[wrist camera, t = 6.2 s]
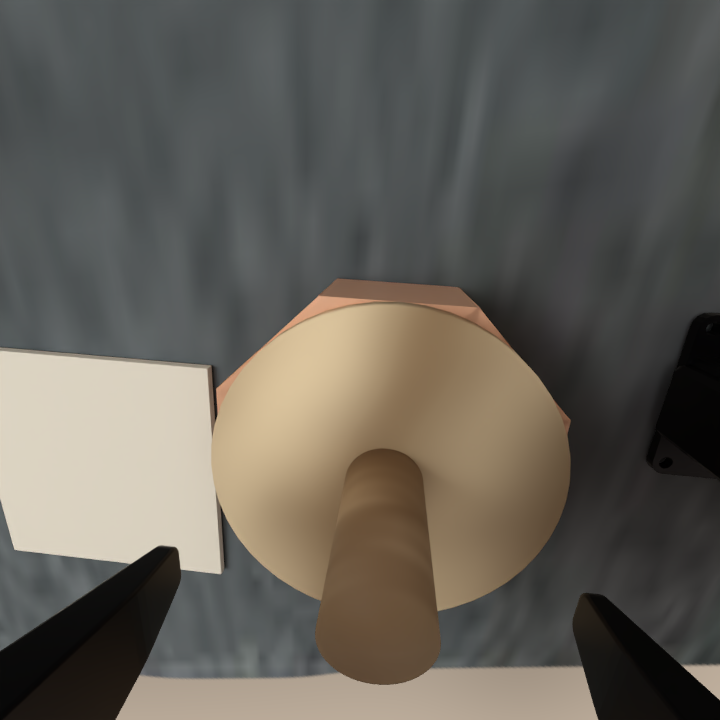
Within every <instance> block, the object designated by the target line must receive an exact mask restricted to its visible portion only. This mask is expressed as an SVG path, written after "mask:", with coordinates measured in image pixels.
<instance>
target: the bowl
mask: <svg viewBox="0 0 720 720" xmlns="http://www.w3.org/2000/svg"><path fill="white" fill-rule="evenodd" d="M374 301H389V302H407V303H414V304H421V305H427V306H430V307H434V308H437V309H441V310H445V311H448V312H451V313H453V314H456V315H458V316H461V317H463V318H465V319H468V320H470V321H472V322H474V323H476V324H477V325H479V326H481V327H482V328H484V329H486V330H487V331H489V332H491V333H493V334H494V335H495V336H497V337H498V338H499V339H500V340H502V341H503V342H504V343H505V344H507V345H508V346H509V347H510V348H511V346H510V345H509V344H508V343H507V341H506V340H505V339H504V338H503V336H502V335H501V334H500V333H499V331H498V330H497V329H496V328H495V326H494V325H493V324H492V323H491V321H490V320H489V319H488V318H487V317H486V315H485V314H484V313H483V312H482V310H481V309H480V307H479V306H478V305H477V304H476V303H475V302H474V301H473V300H472V299H470V298H469V297H468V296H467V295H466V294H465V293H464V292H463V291H462V290H461V289H460V288H459V287H450V286H436V285H422V284H408V283H393V282H379V281H365V280H351V279H339V278H338V279H336V280H335V281H334V282H333V283H332V284H331V285H330V286H328V287H327V288H326V289H325V290H324V291H323V292H322V293H321V294H320V295H319V296H318V297H317V298H316V299H315V300H314V301H313V302H311V303H310V304H309V305H308V306H307V307H306V308H305V309H304V310H303V311H302V312H300V313H299V314H298V315H297V316H296V317H295V318H294V319H293V320H292V321H291V322H289V323H288V324H287V325H286V326H285V327H284V328H283V329H282V330H281V331H280V332H279V333H277V334H276V335H275V336H274V337H273V338H272V339H271V340H270V341H269V342H268V343H270V342H271V341H272V340H273V339H275V338H276V337H277V336H279V335H280V334H281V333H282V332H284V331H285V330H287V329H289V328H290V327H292V326H294V325H296V324H297V323H299V322H301V321H302V320H304V319H307V318H309V317H312V316H314V315H316V314H319V313H321V312H324V311H326V310H330V309H334V308H338V307H342V306H346V305H350V304H357V303H365V302H374ZM268 343H266V344H265V345H264V346H263V347H262V348H261V349H260V350H259V351H261V350H262V349H263V348H264V347H265V346H266V345H267V344H268ZM259 351H257V352H256V353H255V354H254V355H253V356H252V357H250V358H249V359H248V360H247V361H246V362H245V363H244V364H243V365H242V366H241V367H239V368H238V369H237V370H236V371H235V372H234V373H233V374H232V375H231V376H230V377H228V378H227V379H226V380H225V381H224V382H223V383H222V384H221V385H220V386H219V387H217V388H216V392H217V408H218V413H219V409H220V406H221V404H222V402H223V400H224V398H225V396H226V394H227V392H228V390H229V388H230V386H231V385H232V383H233V382H234V381H235V379H236V378H237V376H238V375H239V373H240V372H241V371H242V369H243V368H244V367H245V366H246V365H247V364H248V363H249V362H250V361H251V360H252V359H253V358H254V357H255V355H256V354H257V353H258V352H259ZM554 402H555V401H554ZM555 404H556V406H557V409H558V411H559V413H560V415H561V417H562V420H563V424H564V427H565V430H566V434H568V430H569V426H570V422H571V420H570V419H569V418H568V417H567V415H566V414H565V413H564V412H563V411H562V409H561V408H560V407H559V406H558V405H557V403H556V402H555Z"/></svg>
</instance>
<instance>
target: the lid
mask: <svg viewBox="0 0 720 720" xmlns="http://www.w3.org/2000/svg"><path fill="white" fill-rule="evenodd" d="M570 465H571V458H570V451H569V443H568V437H567V434H566V430H565V427H564V424H563V420H562V417H561V415H560V413H559V411H558V409H557V406H556V404H555V402H554V400H553V398H552V396H551V395H550V393H549V392H548V390H547V389H546V387H545V386H544V384H543V383H542V381H541V380H540V379H539V377H538V376H537V375H536V374H535V373H534V372H533V370H532V369H531V368H530V367H529V366H528V365H527V364H526V363H525V362H524V361H523V360H522V359H521V358H520V357H519V355H518V354H517V353H516V352H515V351H514V350H513V349H512V348H510V347H509V346H508V345H507V344H505V343H504V342H503V341H502V340H500V339H499V338H498V337H497V336H495V335H494V334H493V333H491V332H489V331H487V330H486V329H484V328H482V327H481V326H479V325H477V324H476V323H474V322H472V321H470V320H468V319H465V318H463V317H461V316H458V315H456V314H453V313H451V312H448V311H445V310H441V309H437V308H434V307H430V306H427V305H421V304H414V303H407V302H389V301H374V302H365V303H357V304H350V305H346V306H342V307H338V308H334V309H330V310H326V311H324V312H321V313H319V314H316V315H314V316H312V317H309V318H307V319H304V320H302V321H301V322H299V323H297V324H296V325H294V326H292V327H290V328H289V329H287V330H285V331H284V332H282V333H281V334H280V335H279V336H277V337H276V338H275V339H273V340H272V341H271V342H270V343H268V344H267V345H266V346H265V347H264V348H263V349H262V350H261V351H259V352H258V353H257V354H256V355H255V357H254V358H253V359H252V360H251V361H250V362H249V363H248V364H247V365H246V366H245V367H244V368H243V369H242V371H241V372H240V373H239V375H238V376H237V378H236V379H235V381H234V382H233V383H232V385H231V386H230V388H229V390H228V392H227V394H226V396H225V398H224V400H223V402H222V404H221V406H220V409H219V413H218V416H217V419H216V422H215V425H214V431H213V438H212V444H211V466H212V473H213V480H214V486H215V489H216V493H217V496H218V499H219V503H220V505H221V507H222V510H223V512H224V514H225V516H226V519H227V521H228V522H229V524H230V526H231V527H232V529H233V530H234V532H235V534H236V535H237V537H238V538H239V539H240V541H241V542H242V543H243V545H244V546H245V547H246V548H247V550H248V551H249V552H250V553H251V554H252V555H253V556H254V557H255V558H256V559H257V560H258V561H259V562H260V563H261V564H262V565H263V566H264V567H265V568H267V569H268V570H269V571H270V572H272V573H273V574H274V575H275V576H277V577H278V578H279V579H281V580H282V581H284V582H285V583H287V584H289V585H290V586H292V587H293V588H295V589H297V590H299V591H301V592H303V593H305V594H307V595H309V596H311V597H313V598H315V599H318V600H320V601H321V604H320V609H319V614H318V619H317V624H316V631H315V639H316V644H317V647H318V649H319V651H320V653H321V655H322V656H323V658H324V659H325V660H326V661H327V662H328V663H329V664H330V665H331V666H332V667H333V668H334V669H336V670H337V671H339V672H340V673H342V674H343V675H346V676H348V677H350V678H352V679H355V680H357V681H361V682H365V683H370V684H379V685H390V684H398V683H403V682H406V681H409V680H412V679H414V678H417V677H419V676H420V675H422V674H424V673H425V672H426V671H427V670H429V669H430V668H431V667H432V665H433V664H434V663H435V661H436V660H437V658H438V655H439V652H440V647H441V640H440V631H439V621H438V612H437V611H440V610H445V609H449V608H453V607H456V606H459V605H462V604H465V603H468V602H471V601H473V600H475V599H477V598H480V597H482V596H484V595H486V594H488V593H490V592H492V591H493V590H495V589H497V588H498V587H500V586H502V585H503V584H505V583H506V582H508V581H509V580H510V579H512V578H513V577H514V576H515V575H517V574H518V573H519V572H520V571H522V570H523V569H524V568H525V567H526V566H527V565H528V564H529V563H530V562H531V561H532V560H533V559H534V558H535V557H536V556H537V555H538V553H539V552H540V551H541V549H542V548H543V547H544V545H545V544H546V542H547V541H548V540H549V538H550V537H551V535H552V533H553V531H554V529H555V527H556V525H557V524H558V522H559V520H560V517H561V514H562V511H563V508H564V506H565V503H566V499H567V494H568V489H569V483H570Z"/></svg>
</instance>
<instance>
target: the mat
mask: <svg viewBox="0 0 720 720" xmlns="http://www.w3.org/2000/svg"><path fill="white" fill-rule="evenodd" d="M214 425H215V414H214V398H213V383H212V367H211V365H200V364H188V363H177V362H165V361H153V360H142V359H130V358H118V357H107V356H95V355H83V354H72V353H60V352H48V351H37V350H25V349H14V348H2V347H0V499H1V503H2V506H3V510H4V513H5V517H6V521H7V524H8V528H9V531H10V535H11V539H12V542H13V546H14V549H15V550H20V551H29V552H37V553H46V554H54V555H63V556H71V557H80V558H88V559H97V560H105V561H114V562H122V563H133V562H134V561H136V560H137V559H139V558H140V557H142V556H143V555H145V554H146V553H148V552H149V551H151V550H152V549H154V548H155V547H157V546H160V545H164V546H173V547H176V548H177V549H178V551H179V559H180V568H181V569H182V570H190V571H199V572H207V573H216V574H222V572H223V570H224V552H223V537H222V522H221V506H220V503H219V499H218V496H217V493H216V489H215V486H214V480H213V473H212V466H211V444H212V438H213V431H214Z"/></svg>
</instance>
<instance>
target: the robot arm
mask: <svg viewBox="0 0 720 720" xmlns="http://www.w3.org/2000/svg"><path fill="white" fill-rule="evenodd" d="M710 323H713V327H712V329H711V330H710V331H709V332H707V333H706V327H707V326H708V325H709V324H710ZM663 458H666V459H665V460H664V461H663V462H661V463H659V462H660V460H661V459H663ZM647 463H648V464H649V465H650V466H651V467H652V468H653V469H654V470H655V471H656V472H658V473H662V474H672V475H682V476H693V477H703V478H714V479H718V480H719V481H720V313H704V314H702V315H699V316H698V317H697V318H696V319H694V321H693V322H692V324H691V326H690V329H689V332H688V335H687V338H686V341H685V344H684V347H683V350H682V353H681V356H680V359H679V362H678V365H677V368H676V370H675V371H674V374H673V377H672V380H671V383H670V386H669V389H668V392H667V395H666V398H665V401H664V404H663V407H662V410H661V413H660V416H659V419H658V422H657V425H656V431H655V434H654V436H653V439H652V442H651V445H650V448H649V451H648V454H647ZM180 580H181V568H180V559H179V551H178V549H177V548H176V547H173V546H164V545H160V546H157V547H155V548H154V549H152V550H151V551H149V552H148V553H146V554H145V555H143V556H142V557H140V558H139V559H137V560H136V561H134V562H133V563H131V564H130V565H128V566H127V567H125V568H124V569H122V570H121V571H119V572H118V573H116V574H115V575H113V576H112V577H110V578H109V579H107V580H106V581H104V582H103V583H101V584H100V585H99V586H97V587H96V588H94V589H93V590H91V591H90V592H88V593H87V594H85V595H84V596H82V597H81V598H79V599H78V600H76V601H75V602H73V603H72V604H70V605H69V606H67V607H66V608H64V609H63V610H61V611H60V612H58V613H57V614H55V615H54V616H52V617H51V618H49V619H48V620H46V621H45V622H43V623H42V624H40V625H39V626H37V627H36V628H34V629H33V630H31V631H30V632H28V633H27V634H25V635H24V636H22V637H21V638H19V639H18V640H16V641H15V642H13V643H12V644H10V645H9V646H7V647H6V648H4V649H3V650H1V651H0V720H116V718H117V716H118V714H119V712H120V710H121V708H122V706H123V705H124V703H125V701H126V699H127V697H128V695H129V693H130V691H131V690H132V687H133V686H134V684H135V682H136V680H137V678H138V676H139V675H140V673H141V671H142V669H143V667H144V665H145V663H146V661H147V659H148V657H149V655H150V652H151V650H152V648H153V646H154V643H155V641H156V638H157V636H158V634H159V631H160V629H161V627H162V624H163V622H164V620H165V617H166V615H167V613H168V610H169V608H170V605H171V603H172V601H173V598H174V596H175V594H176V591H177V589H178V586H179V584H180ZM573 632H574V636H575V640H576V643H577V647H578V650H579V654H580V658H581V661H582V665H583V668H584V672H585V675H586V679H587V683H588V686H589V690H590V693H591V697H592V700H593V704H594V707H595V710H596V714H597V717H598V720H720V700H719V699H718V698H717V697H715V696H714V695H713V694H712V693H711V692H710V691H709V690H708V689H707V688H706V687H705V686H703V685H702V684H701V683H700V682H699V681H698V680H697V679H696V678H694V677H693V676H692V675H691V674H690V673H689V672H688V671H687V670H686V669H685V668H684V667H682V666H681V665H680V664H679V663H678V662H677V661H676V660H675V659H674V658H672V657H671V656H670V655H669V654H668V653H667V652H666V651H665V650H664V649H663V648H661V647H660V646H659V645H658V644H657V643H656V642H655V641H654V640H653V639H651V638H650V637H649V636H648V635H647V634H646V633H645V632H644V631H643V630H642V629H640V628H639V627H638V626H637V625H636V624H635V623H634V622H633V621H632V620H630V619H629V618H628V617H627V616H626V615H625V614H624V613H623V612H622V611H621V610H619V609H618V608H617V607H616V606H615V605H614V604H613V603H612V602H611V601H609V600H608V599H607V598H606V597H605V596H603V595H600V594H592V593H583V594H582V595H581V596H580V598H579V602H578V605H577V608H576V611H575V614H574V617H573Z"/></svg>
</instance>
